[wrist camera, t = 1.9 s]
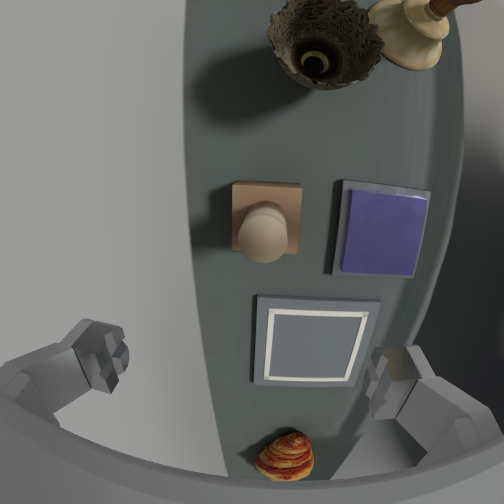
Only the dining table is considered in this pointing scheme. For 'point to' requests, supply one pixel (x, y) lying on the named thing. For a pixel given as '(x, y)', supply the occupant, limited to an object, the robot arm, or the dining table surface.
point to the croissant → (286, 458)
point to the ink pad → (379, 230)
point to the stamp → (265, 219)
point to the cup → (325, 42)
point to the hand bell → (413, 29)
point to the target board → (312, 340)
